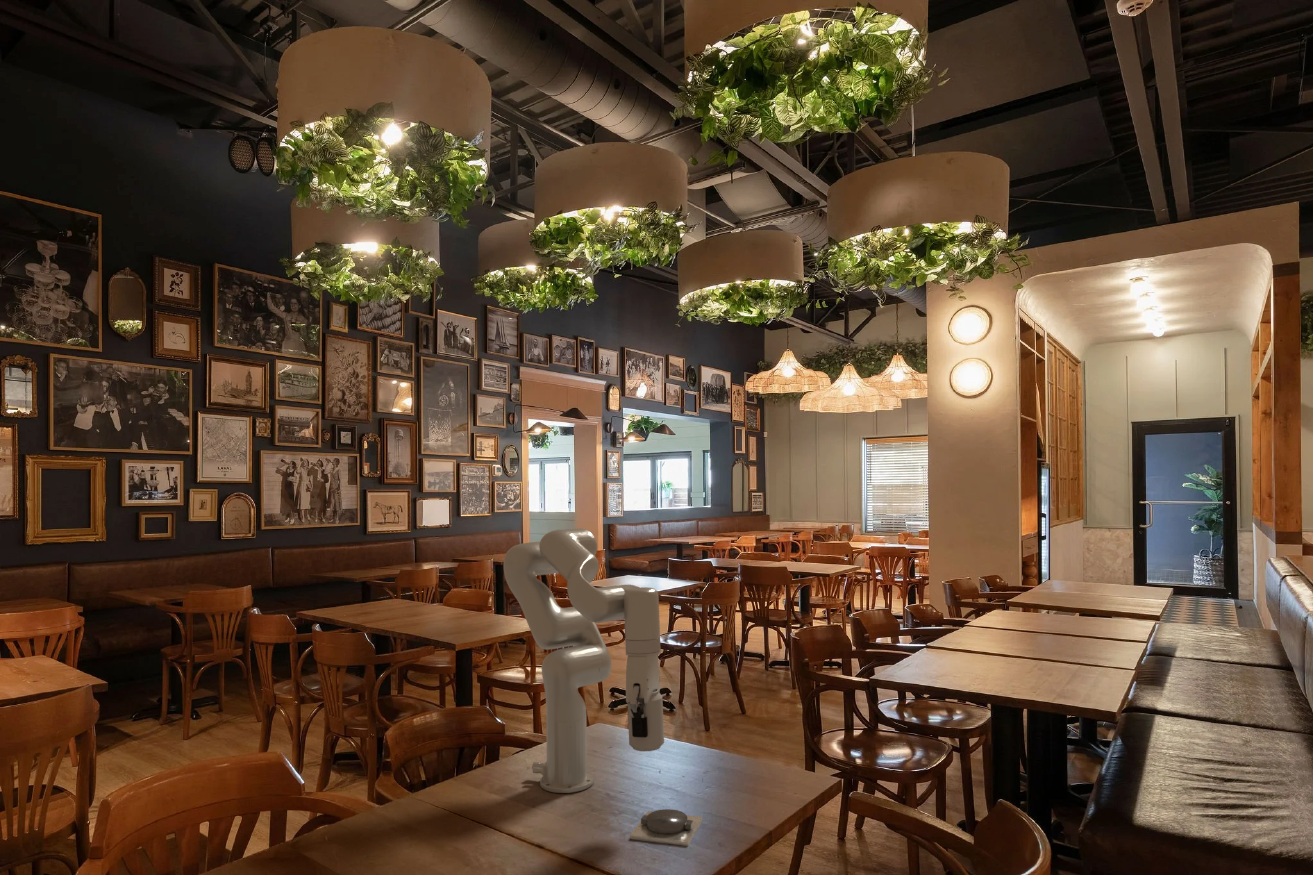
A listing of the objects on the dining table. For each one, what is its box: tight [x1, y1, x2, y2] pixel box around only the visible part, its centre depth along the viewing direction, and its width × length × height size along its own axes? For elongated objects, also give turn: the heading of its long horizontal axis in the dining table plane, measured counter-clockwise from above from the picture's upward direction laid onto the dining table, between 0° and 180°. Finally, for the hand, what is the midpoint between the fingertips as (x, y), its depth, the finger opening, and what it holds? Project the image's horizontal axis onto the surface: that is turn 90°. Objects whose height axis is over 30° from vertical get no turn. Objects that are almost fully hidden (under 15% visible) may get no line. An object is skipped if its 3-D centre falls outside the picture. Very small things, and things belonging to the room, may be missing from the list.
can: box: [627, 688, 665, 752], centre depth 167 cm, size 8×8×12 cm
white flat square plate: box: [629, 808, 703, 847], centre depth 162 cm, size 12×12×2 cm
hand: (646, 730), depth 167 cm, fingers closed on can, 7 cm apart
